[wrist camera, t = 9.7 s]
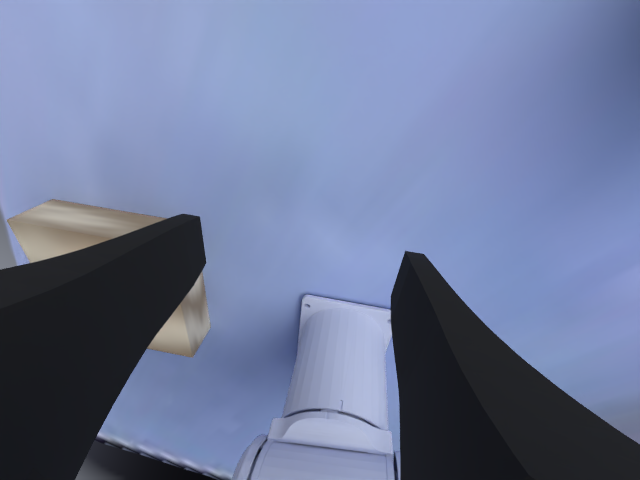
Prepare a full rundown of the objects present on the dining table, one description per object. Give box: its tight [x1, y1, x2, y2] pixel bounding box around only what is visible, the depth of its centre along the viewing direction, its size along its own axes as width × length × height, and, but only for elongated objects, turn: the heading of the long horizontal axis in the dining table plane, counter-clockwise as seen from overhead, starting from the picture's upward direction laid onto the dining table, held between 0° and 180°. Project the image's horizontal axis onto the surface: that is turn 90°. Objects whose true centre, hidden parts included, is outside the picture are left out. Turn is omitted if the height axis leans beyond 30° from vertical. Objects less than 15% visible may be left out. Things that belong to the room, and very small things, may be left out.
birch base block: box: [7, 199, 211, 358], centre depth 25 cm, size 12×12×4 cm
